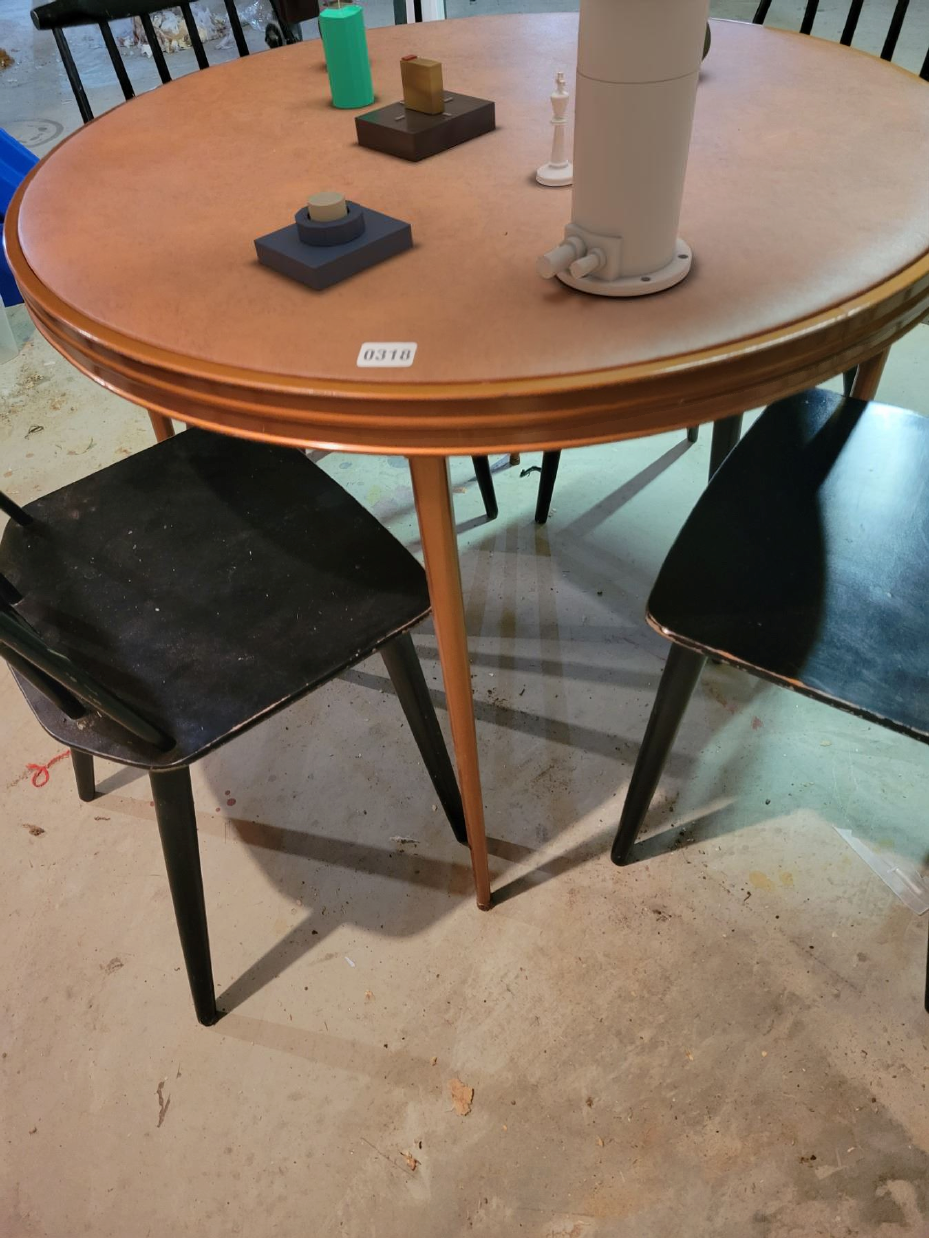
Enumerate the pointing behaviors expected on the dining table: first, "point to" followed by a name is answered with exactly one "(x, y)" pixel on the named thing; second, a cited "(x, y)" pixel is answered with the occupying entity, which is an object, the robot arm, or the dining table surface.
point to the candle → (347, 56)
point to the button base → (333, 245)
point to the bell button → (327, 206)
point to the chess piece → (557, 142)
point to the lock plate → (425, 126)
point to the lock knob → (422, 84)
